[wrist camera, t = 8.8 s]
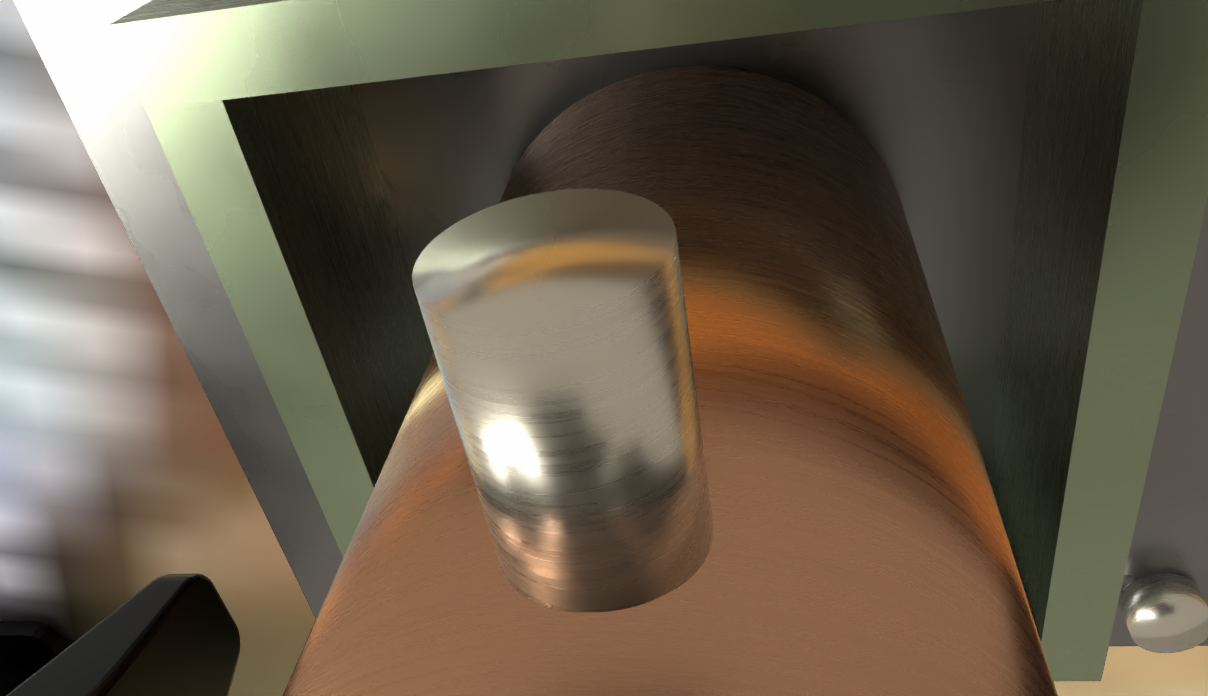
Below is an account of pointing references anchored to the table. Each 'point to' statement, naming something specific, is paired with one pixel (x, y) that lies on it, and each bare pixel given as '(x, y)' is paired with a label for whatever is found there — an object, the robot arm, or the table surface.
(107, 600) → the table surface
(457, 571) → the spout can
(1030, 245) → the gearbox housing
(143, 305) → the table surface
